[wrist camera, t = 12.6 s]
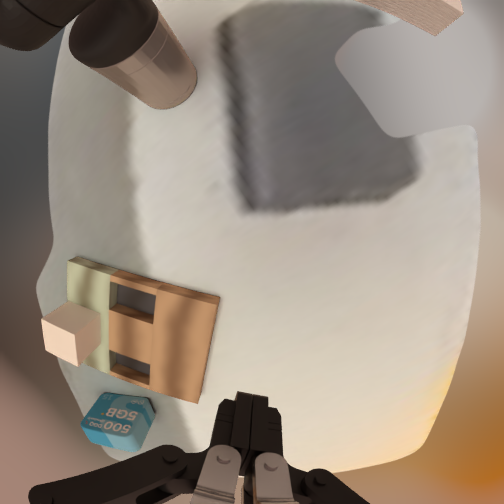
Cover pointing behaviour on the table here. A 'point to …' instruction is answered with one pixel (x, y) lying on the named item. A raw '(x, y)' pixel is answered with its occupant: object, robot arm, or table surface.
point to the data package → (119, 421)
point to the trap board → (146, 328)
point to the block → (72, 332)
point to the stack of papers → (421, 12)
